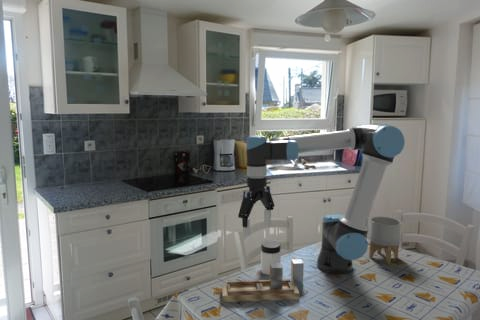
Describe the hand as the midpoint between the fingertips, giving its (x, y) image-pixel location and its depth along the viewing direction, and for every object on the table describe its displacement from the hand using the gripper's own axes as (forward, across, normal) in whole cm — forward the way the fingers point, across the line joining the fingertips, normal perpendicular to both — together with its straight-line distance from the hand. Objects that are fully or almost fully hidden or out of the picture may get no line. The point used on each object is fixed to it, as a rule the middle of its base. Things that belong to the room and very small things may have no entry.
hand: (257, 230), depth 143 cm
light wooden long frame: (+22, +7, +6) cm, 24 cm away
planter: (+24, -58, +30) cm, 69 cm away
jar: (+22, -12, -2) cm, 26 cm away
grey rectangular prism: (+22, -10, +12) cm, 27 cm away
